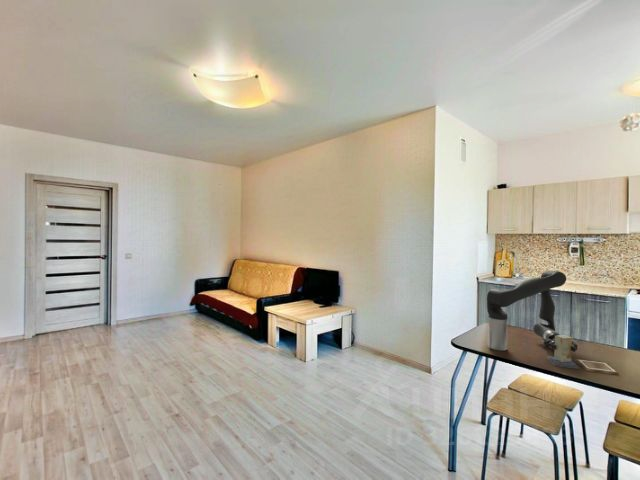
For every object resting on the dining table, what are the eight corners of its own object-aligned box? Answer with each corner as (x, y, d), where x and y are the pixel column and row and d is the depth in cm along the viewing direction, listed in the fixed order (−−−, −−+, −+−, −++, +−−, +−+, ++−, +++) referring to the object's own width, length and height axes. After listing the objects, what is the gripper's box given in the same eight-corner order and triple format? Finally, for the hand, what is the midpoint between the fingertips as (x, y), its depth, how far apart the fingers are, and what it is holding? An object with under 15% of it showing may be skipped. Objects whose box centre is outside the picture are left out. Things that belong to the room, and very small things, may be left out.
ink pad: (553, 365, 153) (553, 362, 153) (547, 358, 162) (547, 355, 162) (578, 369, 149) (578, 366, 149) (570, 361, 159) (571, 358, 159)
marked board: (586, 370, 148) (586, 368, 148) (576, 361, 159) (576, 358, 159) (618, 375, 143) (618, 372, 143) (605, 365, 154) (606, 362, 154)
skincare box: (562, 362, 153) (562, 338, 153) (553, 359, 157) (554, 335, 157) (572, 361, 155) (572, 337, 155) (563, 358, 159) (563, 334, 159)
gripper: (538, 330, 172) (547, 339, 156) (569, 333, 167) (582, 343, 151) (537, 343, 172) (547, 354, 157) (569, 347, 167) (582, 358, 151)
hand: (564, 348), depth 154 cm, fingers closed on skincare box, 7 cm apart
